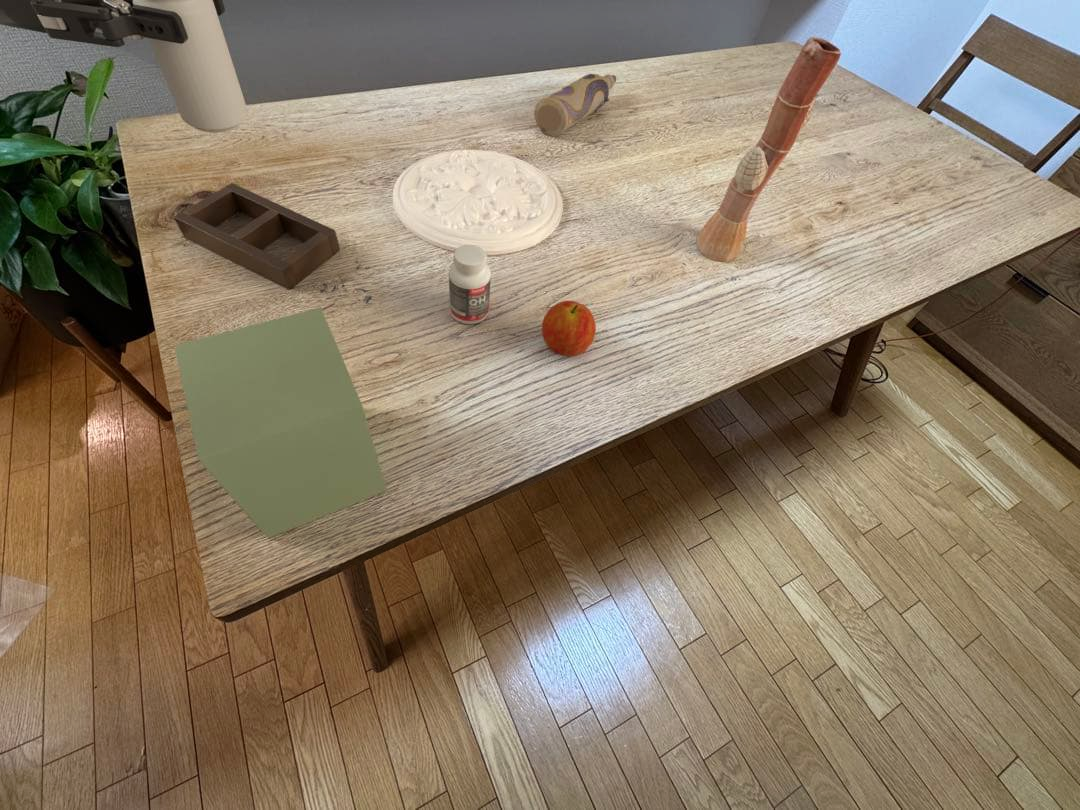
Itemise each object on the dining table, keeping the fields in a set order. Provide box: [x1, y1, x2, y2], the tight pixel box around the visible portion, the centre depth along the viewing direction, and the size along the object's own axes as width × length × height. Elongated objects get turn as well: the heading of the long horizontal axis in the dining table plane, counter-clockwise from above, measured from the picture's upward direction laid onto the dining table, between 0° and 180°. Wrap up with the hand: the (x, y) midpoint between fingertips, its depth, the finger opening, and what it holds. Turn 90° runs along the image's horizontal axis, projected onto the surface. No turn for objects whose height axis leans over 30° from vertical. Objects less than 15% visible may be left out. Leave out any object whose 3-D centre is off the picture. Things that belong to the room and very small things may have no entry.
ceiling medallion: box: [392, 149, 564, 256], centre depth 85 cm, size 28×28×3 cm
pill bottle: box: [448, 245, 492, 325], centre depth 67 cm, size 5×5×10 cm
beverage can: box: [133, 0, 249, 134], centre depth 50 cm, size 6×6×12 cm
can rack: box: [173, 182, 341, 291], centre depth 73 cm, size 10×19×4 cm, turn 63°
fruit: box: [541, 300, 597, 357], centre depth 66 cm, size 7×7×8 cm
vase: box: [695, 36, 842, 263], centre depth 74 cm, size 11×7×30 cm
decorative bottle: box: [533, 73, 617, 137], centre depth 104 cm, size 26×8×7 cm, turn 145°
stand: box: [173, 306, 388, 539], centre depth 49 cm, size 12×12×16 cm
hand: (202, 14), depth 47 cm, fingers closed on beverage can, 6 cm apart
